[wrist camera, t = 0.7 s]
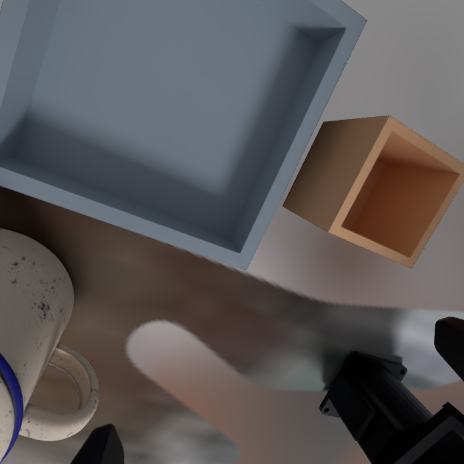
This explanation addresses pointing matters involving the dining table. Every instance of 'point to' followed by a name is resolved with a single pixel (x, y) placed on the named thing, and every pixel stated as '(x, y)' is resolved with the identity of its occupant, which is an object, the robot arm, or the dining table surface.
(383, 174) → the small crate
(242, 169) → the big crate
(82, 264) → the dining table surface
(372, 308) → the dining table surface
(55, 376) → the dining table surface
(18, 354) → the teacup with lid
